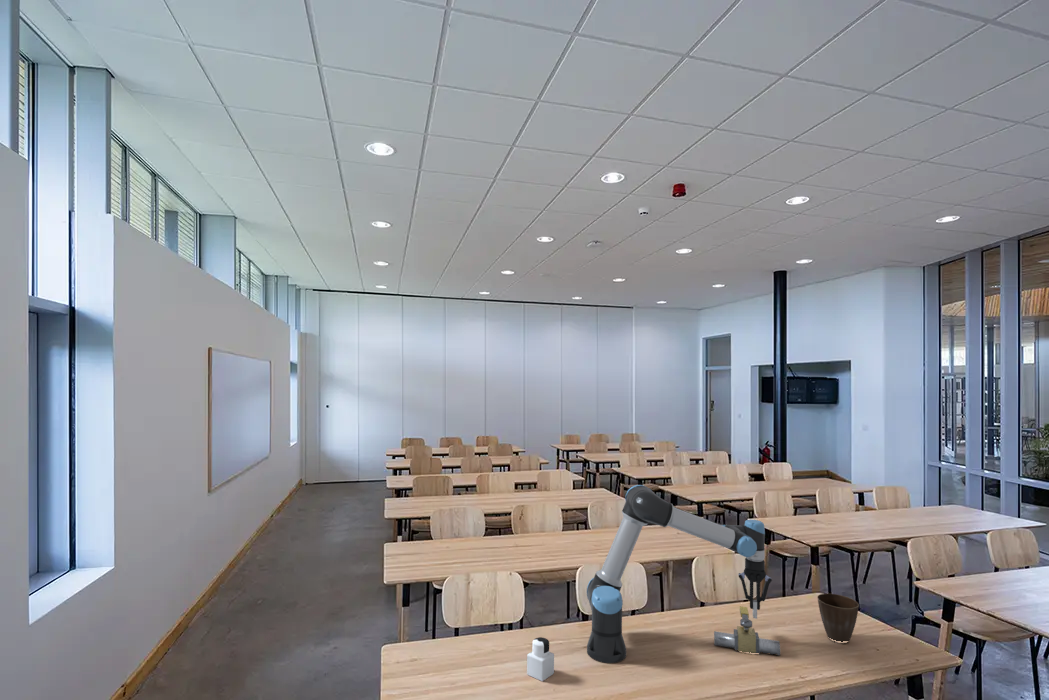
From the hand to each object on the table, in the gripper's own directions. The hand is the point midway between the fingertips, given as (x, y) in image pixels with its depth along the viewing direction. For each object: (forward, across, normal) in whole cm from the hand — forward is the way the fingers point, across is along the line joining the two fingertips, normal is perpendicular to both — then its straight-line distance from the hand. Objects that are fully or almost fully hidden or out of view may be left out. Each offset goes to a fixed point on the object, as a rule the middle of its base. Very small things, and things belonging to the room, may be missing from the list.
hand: (754, 616), depth 224 cm
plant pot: (+9, +33, +12) cm, 36 cm away
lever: (0, -4, -4) cm, 6 cm away
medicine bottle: (+10, -76, -55) cm, 94 cm away
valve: (+9, -4, -10) cm, 14 cm away
